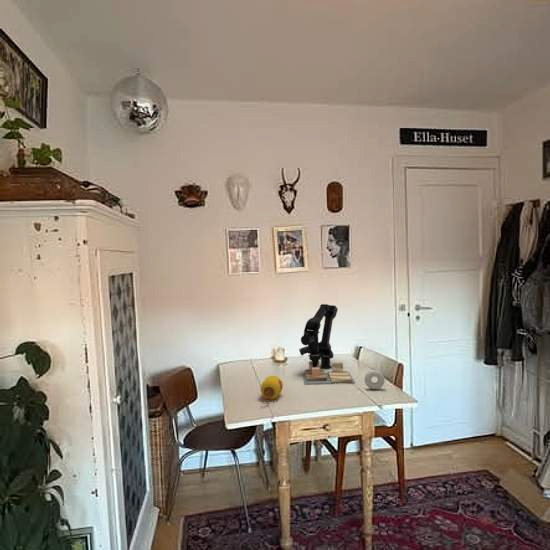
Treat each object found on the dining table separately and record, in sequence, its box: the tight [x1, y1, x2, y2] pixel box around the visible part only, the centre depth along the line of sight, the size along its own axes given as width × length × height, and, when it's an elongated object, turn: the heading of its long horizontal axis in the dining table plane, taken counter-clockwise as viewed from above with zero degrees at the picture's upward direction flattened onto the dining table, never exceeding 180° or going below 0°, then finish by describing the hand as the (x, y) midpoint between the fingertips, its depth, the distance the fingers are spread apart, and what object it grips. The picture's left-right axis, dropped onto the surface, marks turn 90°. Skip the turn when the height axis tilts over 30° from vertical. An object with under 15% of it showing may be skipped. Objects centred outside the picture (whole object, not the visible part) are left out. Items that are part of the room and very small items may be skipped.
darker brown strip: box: [304, 360, 327, 381], centre depth 235 cm, size 18×11×6 cm, turn 179°
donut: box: [364, 369, 386, 390], centre depth 210 cm, size 10×4×10 cm, turn 81°
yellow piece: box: [260, 375, 284, 400], centre depth 204 cm, size 10×10×30 cm
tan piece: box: [327, 361, 352, 382], centre depth 230 cm, size 18×11×6 cm, turn 179°
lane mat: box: [302, 371, 356, 386], centre depth 232 cm, size 20×27×1 cm
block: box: [312, 367, 321, 376], centre depth 232 cm, size 4×4×4 cm
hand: (314, 368), depth 243 cm, fingers closed on darker brown strip, 2 cm apart
